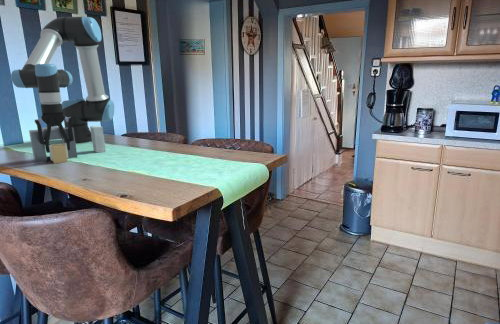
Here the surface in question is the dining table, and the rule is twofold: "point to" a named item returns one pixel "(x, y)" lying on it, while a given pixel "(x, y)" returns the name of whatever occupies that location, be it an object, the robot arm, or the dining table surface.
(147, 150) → the dining table surface
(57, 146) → the plug
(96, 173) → the dining table surface
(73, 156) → the housing
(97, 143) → the skincare box
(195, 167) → the dining table surface
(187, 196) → the dining table surface
